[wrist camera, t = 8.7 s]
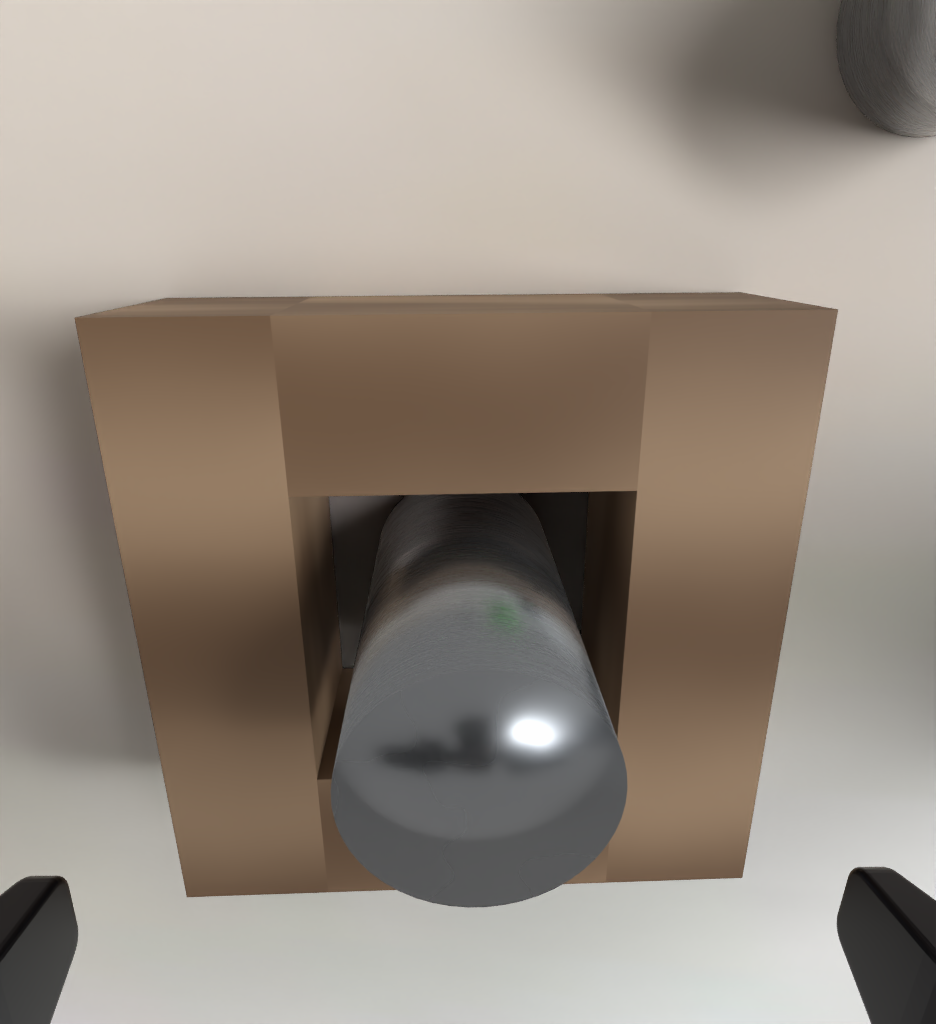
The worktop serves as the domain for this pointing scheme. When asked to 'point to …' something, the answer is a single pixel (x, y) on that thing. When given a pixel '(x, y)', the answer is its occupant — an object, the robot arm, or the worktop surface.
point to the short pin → (890, 62)
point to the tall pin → (473, 713)
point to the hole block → (454, 470)
